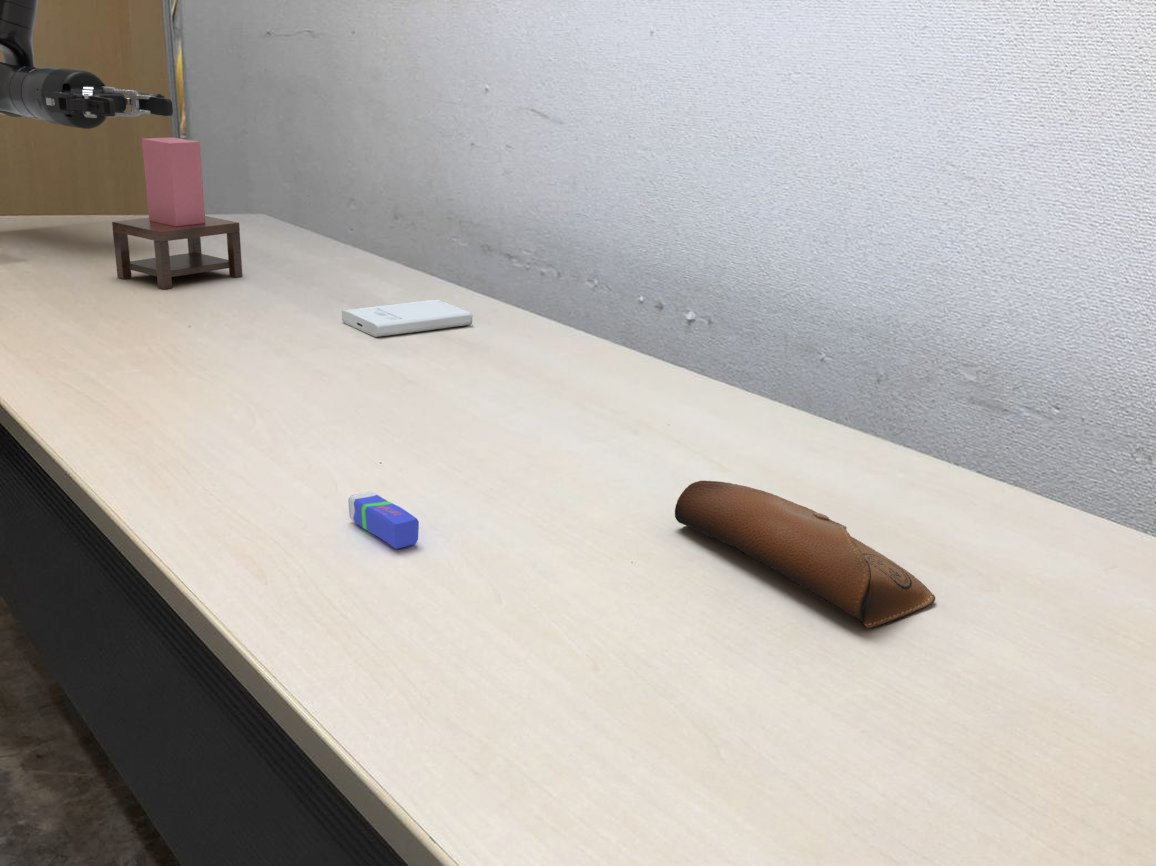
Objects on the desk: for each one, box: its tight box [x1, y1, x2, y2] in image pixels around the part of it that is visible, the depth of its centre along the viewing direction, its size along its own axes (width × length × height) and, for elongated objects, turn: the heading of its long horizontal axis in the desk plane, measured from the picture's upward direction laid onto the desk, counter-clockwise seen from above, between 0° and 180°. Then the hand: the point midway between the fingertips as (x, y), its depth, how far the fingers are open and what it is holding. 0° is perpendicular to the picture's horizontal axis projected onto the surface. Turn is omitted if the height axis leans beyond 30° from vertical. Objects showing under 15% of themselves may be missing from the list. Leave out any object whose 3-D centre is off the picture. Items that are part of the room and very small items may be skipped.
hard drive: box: [341, 299, 473, 338], centre depth 130 cm, size 2×8×12 cm
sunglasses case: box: [674, 480, 936, 630], centre depth 76 cm, size 18×7×7 cm
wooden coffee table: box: [111, 215, 243, 290], centre depth 143 cm, size 12×9×7 cm
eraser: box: [347, 490, 420, 550], centre depth 76 cm, size 2×6×2 cm, turn 42°
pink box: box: [141, 136, 206, 227], centre depth 140 cm, size 4×5×10 cm
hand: (142, 107), depth 146 cm, fingers open, 8 cm apart
